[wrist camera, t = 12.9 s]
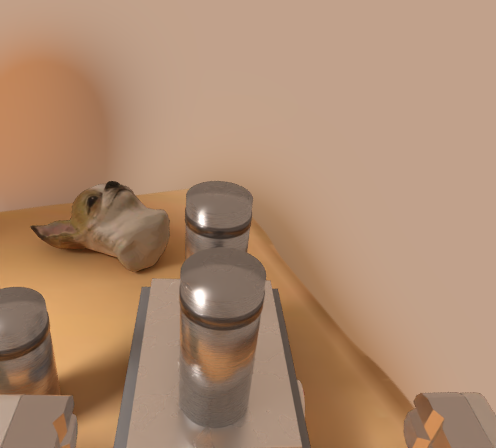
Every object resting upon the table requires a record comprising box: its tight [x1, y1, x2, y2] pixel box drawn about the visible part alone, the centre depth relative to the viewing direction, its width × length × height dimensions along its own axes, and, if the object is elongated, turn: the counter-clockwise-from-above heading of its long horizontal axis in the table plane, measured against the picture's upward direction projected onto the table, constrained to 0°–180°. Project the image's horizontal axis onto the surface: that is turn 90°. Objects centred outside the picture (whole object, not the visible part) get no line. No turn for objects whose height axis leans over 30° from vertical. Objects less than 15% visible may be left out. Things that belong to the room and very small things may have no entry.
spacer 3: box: [179, 247, 266, 428], centre depth 26 cm, size 4×4×10 cm
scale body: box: [114, 287, 311, 448], centre depth 34 cm, size 12×17×4 cm
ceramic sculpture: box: [31, 181, 170, 272], centre depth 48 cm, size 11×9×15 cm
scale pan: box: [126, 279, 302, 448], centre depth 32 cm, size 10×15×1 cm, turn 5°
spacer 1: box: [0, 287, 61, 395], centre depth 30 cm, size 4×4×10 cm
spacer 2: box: [185, 181, 253, 260], centre depth 33 cm, size 4×4×10 cm
